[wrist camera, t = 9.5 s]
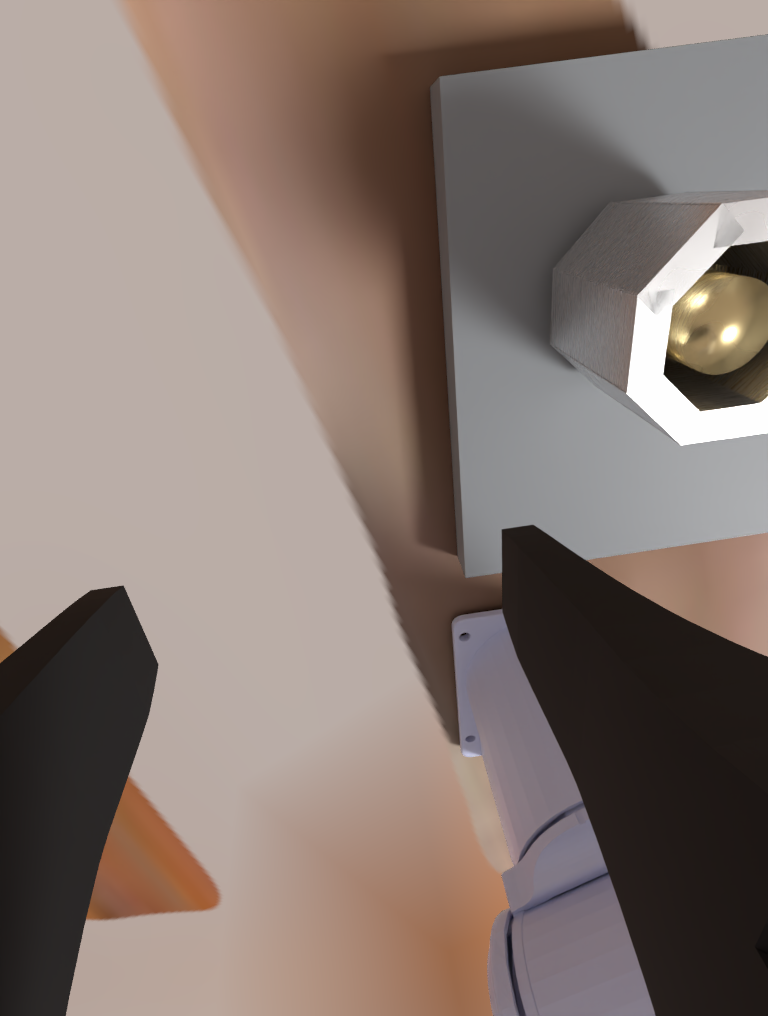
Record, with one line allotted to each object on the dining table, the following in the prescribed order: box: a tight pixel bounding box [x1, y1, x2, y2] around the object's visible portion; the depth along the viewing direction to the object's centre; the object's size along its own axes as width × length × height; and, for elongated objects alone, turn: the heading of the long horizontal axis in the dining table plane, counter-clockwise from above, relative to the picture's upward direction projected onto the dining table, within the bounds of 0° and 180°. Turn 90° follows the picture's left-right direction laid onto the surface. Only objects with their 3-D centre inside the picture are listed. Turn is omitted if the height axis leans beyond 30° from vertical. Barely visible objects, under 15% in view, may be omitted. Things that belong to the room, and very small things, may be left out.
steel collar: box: [550, 190, 768, 445], centre depth 14 cm, size 5×5×5 cm
